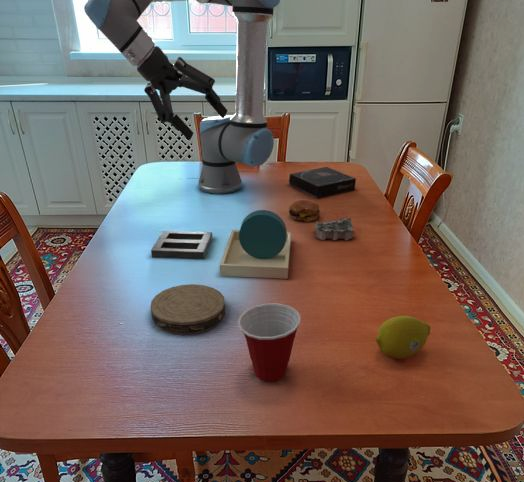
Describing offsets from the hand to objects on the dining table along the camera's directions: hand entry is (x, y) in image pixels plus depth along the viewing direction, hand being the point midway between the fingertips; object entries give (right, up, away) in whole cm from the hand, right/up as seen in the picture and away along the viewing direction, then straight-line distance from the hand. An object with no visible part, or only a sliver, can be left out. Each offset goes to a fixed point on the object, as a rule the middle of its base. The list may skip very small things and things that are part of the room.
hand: (207, 126), depth 129 cm
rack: (-7, -31, +5) cm, 32 cm away
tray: (+13, -35, 0) cm, 37 cm away
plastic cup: (+16, -63, -38) cm, 76 cm away
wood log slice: (-2, -51, -22) cm, 56 cm away
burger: (+27, -18, +23) cm, 40 cm away
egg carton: (+35, -26, +12) cm, 45 cm away
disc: (+15, -30, -4) cm, 33 cm away
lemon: (+41, -60, -34) cm, 80 cm away
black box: (+35, -1, +46) cm, 58 cm away
